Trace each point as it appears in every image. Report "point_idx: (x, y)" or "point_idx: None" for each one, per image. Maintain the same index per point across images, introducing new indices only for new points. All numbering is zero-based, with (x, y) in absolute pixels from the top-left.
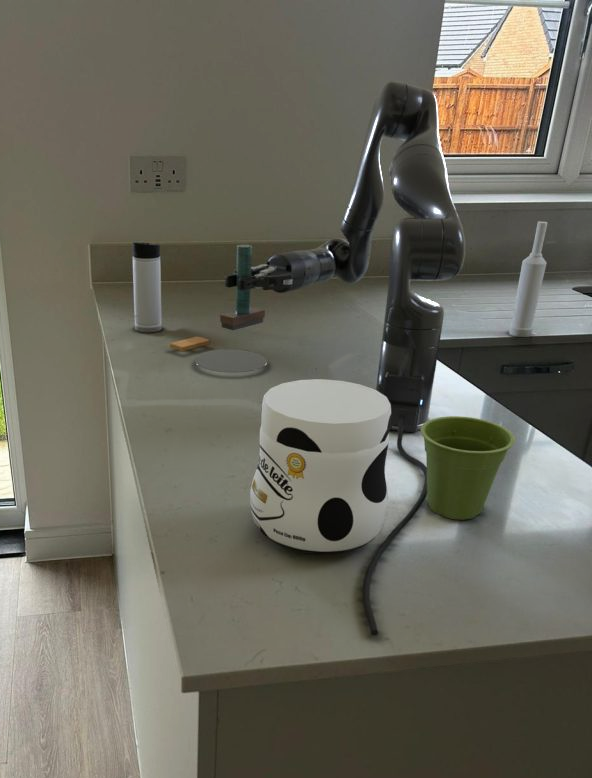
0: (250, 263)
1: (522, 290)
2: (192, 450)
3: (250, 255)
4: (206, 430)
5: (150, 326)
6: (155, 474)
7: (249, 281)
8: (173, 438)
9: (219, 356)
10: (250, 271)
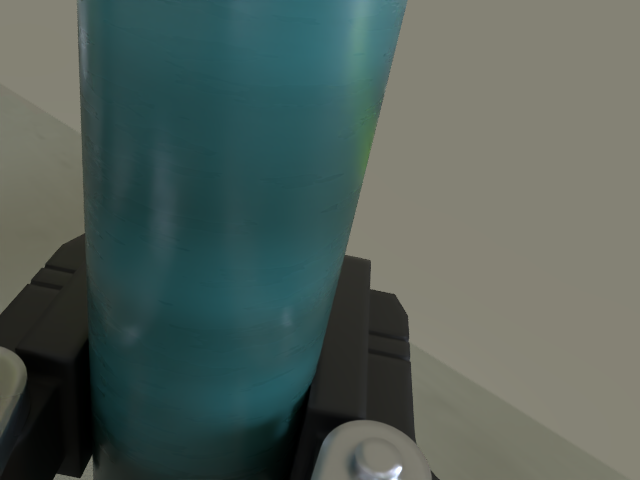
0: (83, 162)
1: None
2: (10, 173)
3: (84, 9)
4: (18, 231)
5: None
6: (38, 122)
7: (41, 274)
8: (76, 192)
9: None
10: (87, 287)
